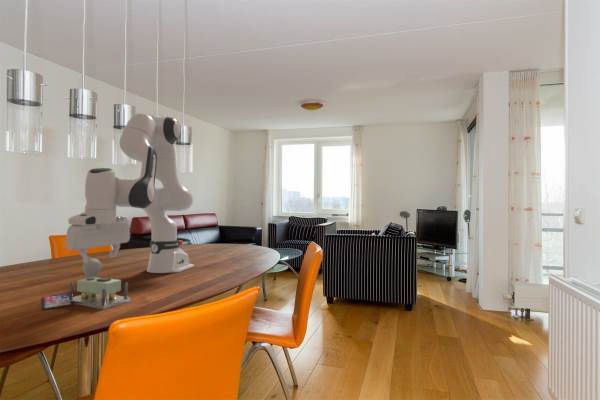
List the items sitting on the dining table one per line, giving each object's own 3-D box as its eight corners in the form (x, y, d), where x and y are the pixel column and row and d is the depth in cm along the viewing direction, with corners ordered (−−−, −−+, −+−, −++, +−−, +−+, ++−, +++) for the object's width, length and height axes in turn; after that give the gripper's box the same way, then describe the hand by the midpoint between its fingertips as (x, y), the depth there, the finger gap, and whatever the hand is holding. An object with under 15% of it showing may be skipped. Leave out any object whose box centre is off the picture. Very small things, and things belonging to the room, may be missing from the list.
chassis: (94, 294, 118) (95, 277, 118) (130, 300, 112) (131, 282, 112) (65, 302, 109) (65, 283, 109) (103, 309, 103) (103, 289, 103)
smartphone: (42, 309, 101) (42, 296, 113) (42, 312, 101) (42, 299, 113) (72, 304, 105) (69, 292, 117) (73, 307, 105) (69, 295, 117)
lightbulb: (104, 286, 128) (105, 257, 128) (90, 290, 122) (91, 260, 122) (92, 285, 130) (92, 256, 130) (77, 289, 124) (78, 259, 124)
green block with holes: (91, 287, 115) (92, 275, 115) (120, 290, 111) (121, 278, 111) (77, 291, 109) (77, 278, 109) (107, 294, 106) (107, 281, 106)
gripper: (121, 215, 121) (120, 253, 122) (62, 219, 102) (62, 264, 103) (134, 216, 119) (133, 255, 119) (77, 220, 100) (76, 266, 100)
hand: (100, 259), depth 111 cm, fingers open, 8 cm apart
